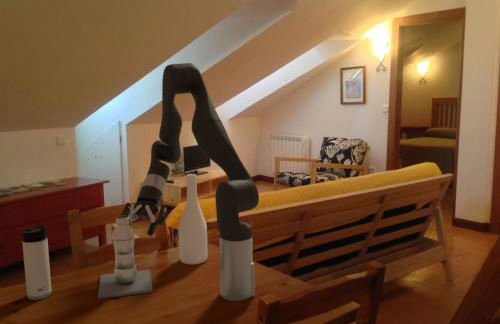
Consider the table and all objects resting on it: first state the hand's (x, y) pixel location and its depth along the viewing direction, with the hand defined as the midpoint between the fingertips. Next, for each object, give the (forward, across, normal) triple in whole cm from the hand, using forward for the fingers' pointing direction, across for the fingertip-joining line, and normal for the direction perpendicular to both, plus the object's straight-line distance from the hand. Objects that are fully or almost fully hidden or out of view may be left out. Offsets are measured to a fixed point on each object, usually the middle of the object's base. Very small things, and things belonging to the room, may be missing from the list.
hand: (136, 234), depth 135 cm
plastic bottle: (+14, 0, +3) cm, 15 cm away
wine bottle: (-1, +13, +20) cm, 24 cm away
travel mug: (+24, -20, -5) cm, 31 cm away
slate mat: (+15, 0, +4) cm, 15 cm away
